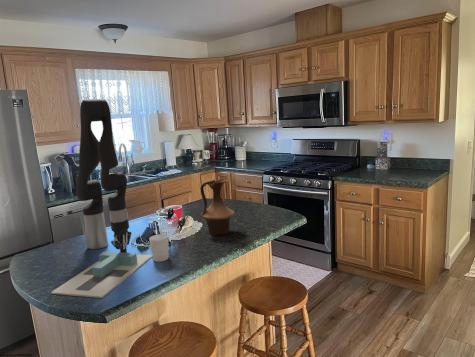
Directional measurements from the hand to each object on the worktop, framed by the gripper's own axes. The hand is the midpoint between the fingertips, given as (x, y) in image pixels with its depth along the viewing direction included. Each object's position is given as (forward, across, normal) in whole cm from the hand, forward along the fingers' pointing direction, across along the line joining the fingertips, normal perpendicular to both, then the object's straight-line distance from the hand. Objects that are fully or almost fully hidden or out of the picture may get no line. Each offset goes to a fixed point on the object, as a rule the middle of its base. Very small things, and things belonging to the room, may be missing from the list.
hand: (124, 256), depth 163 cm
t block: (+1, +10, 0) cm, 10 cm away
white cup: (+2, -3, +16) cm, 17 cm away
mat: (+2, +13, 0) cm, 13 cm away
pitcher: (+2, -39, +32) cm, 50 cm away
